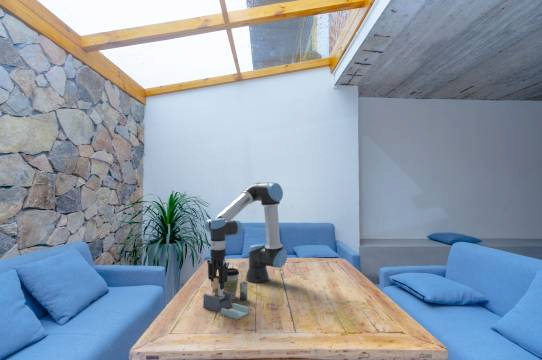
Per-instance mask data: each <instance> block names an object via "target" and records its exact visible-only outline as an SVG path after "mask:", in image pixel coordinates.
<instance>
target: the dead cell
mask: <svg viewBox="0 0 542 360" xmlns="http://www.w3.org/2000/svg"><path fill="white" fill-rule="evenodd" d="M239 301H240V302H247V301H248V281H247V282H246V281H242V282H239Z"/></svg>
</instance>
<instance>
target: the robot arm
mask: <svg viewBox="0 0 542 360" xmlns="http://www.w3.org/2000/svg"><path fill="white" fill-rule="evenodd" d="M283 196H284V193H283V188H282V186H281V185H280V184H279V183H277V182H256V183H253V184H251V185H249V186H248V187H246V188H245V189H244V190H242V191H241V192H240V195H239V196H238V197H237V198H236V199H234V200H233V201H232V202H231V203H230V204H229V205H228V206H226V207H225V208H224V209H223V210H222V211H221V212H220V213H219V214H217V216H215V217H214V218H208V219H207V220H205V222H204V229H205V231H206V232H208V233H210V257H211V258H210V259H207V261H206V263H207V275H208V276H207V277H208V278H207V279H208V280H210V282H211V283H210V284H211V295H213V278H214V277H216V276H217V274H218V276H219V283H218V296H222V295H223V289H224V282H227V276H228V268H229V265H230V262H227V261H226V259H225V256H226V249H225V248H226V237H228V236H235V235H239V234H240V233H241V232H242V231H243V223H242V222H241V221H239V220H233V219H234V218H235V217H236V216H238V215H239V214H240V213H241V212H242V211H243V210H244V209H245V208H247V206H249V205H252V204H253V203H254V202H257V201H259V202H261V206H262V207H263V211H264V225H265V235H266V237H265V238H266V243H258V244H252V245H250V246H249V248H248V249H249V250H248V270H247V273H246V276H245V280H246V281H247V282H249V283H255V284H257V283H258V284H259V283H265V282H268V281H269V280H270V278H269V277H270V275H269V272H268V270H267V269H268V268H267V266H268V267H271V268H275V269H276V268H279V269H280V268H283V267H284V266H285V264H286V263H287V259H288V252H287V250H286V249H284V246H283V244H282V243H281V237H280V221H279V210H278V206H279V204H280V202H281V200H282V199H283Z"/></svg>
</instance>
